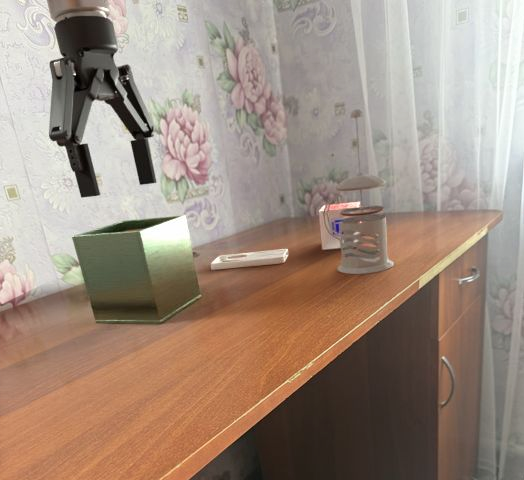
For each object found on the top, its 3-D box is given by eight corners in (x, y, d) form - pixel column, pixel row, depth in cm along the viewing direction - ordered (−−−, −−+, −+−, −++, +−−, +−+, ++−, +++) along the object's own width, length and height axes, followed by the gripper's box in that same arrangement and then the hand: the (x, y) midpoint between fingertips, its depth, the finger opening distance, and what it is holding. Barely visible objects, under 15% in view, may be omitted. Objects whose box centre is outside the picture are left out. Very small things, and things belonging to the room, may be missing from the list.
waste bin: (95, 323, 78) (71, 236, 72) (141, 298, 88) (122, 220, 83) (160, 324, 73) (139, 231, 68) (201, 297, 83) (185, 215, 78)
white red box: (362, 238, 109) (360, 201, 106) (360, 246, 102) (358, 206, 99) (325, 241, 111) (322, 205, 108) (321, 249, 104) (318, 211, 101)
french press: (384, 274, 81) (376, 104, 71) (318, 273, 87) (303, 116, 77) (400, 258, 89) (396, 103, 79) (339, 259, 94) (328, 115, 85)
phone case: (211, 270, 101) (284, 263, 97) (209, 263, 100) (283, 256, 97) (219, 261, 107) (288, 254, 104) (218, 255, 107) (287, 248, 104)
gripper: (30, -5, 53) (83, 200, 61) (159, 27, 74) (186, 177, 82) (-19, 12, 56) (38, 205, 64) (119, 38, 77) (149, 181, 85)
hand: (121, 189), depth 73 cm, fingers open, 13 cm apart
